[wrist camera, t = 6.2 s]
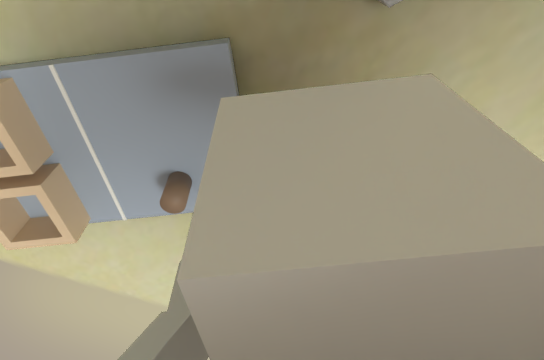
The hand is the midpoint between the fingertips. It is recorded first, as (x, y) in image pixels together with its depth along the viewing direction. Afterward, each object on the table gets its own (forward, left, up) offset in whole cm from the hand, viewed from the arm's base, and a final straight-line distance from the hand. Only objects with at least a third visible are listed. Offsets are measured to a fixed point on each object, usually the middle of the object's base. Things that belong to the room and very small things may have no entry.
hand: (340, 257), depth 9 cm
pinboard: (+16, +5, -19) cm, 25 cm away
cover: (0, 0, -2) cm, 2 cm away
